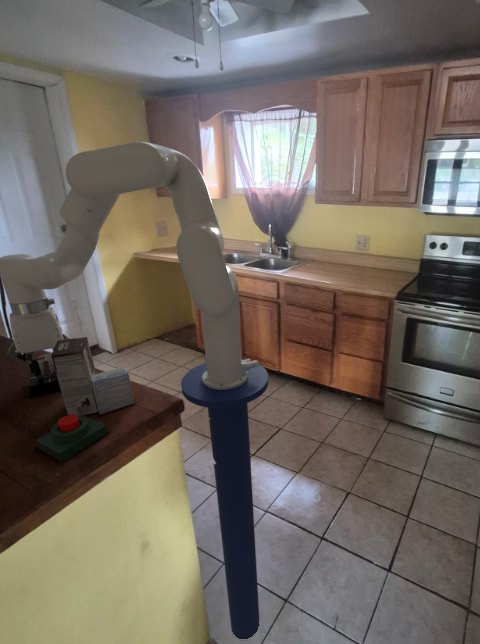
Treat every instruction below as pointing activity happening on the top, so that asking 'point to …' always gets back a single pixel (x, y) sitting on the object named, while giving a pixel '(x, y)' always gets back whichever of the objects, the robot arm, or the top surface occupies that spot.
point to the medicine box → (112, 389)
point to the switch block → (71, 438)
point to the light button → (68, 423)
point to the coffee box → (75, 375)
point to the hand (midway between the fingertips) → (49, 371)
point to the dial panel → (43, 385)
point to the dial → (45, 366)
